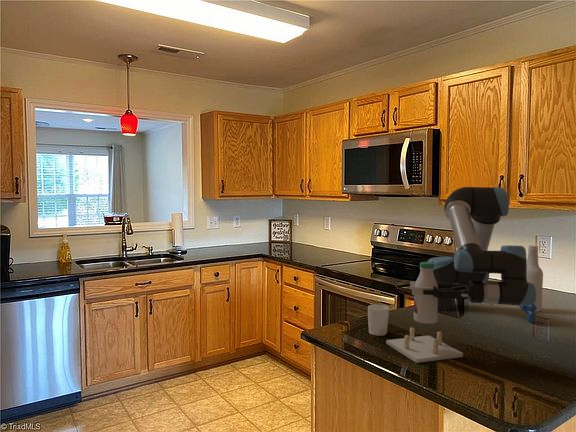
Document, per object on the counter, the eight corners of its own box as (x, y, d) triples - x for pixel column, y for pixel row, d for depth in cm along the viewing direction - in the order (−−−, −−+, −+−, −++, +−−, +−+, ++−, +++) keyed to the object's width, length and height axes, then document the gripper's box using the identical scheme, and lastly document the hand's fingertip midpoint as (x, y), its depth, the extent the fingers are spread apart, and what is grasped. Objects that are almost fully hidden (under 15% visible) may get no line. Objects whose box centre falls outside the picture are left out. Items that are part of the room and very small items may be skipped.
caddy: (386, 343, 153) (386, 328, 153) (428, 338, 159) (429, 324, 159) (416, 362, 136) (417, 345, 136) (462, 356, 142) (463, 340, 142)
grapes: (517, 316, 190) (518, 289, 189) (534, 318, 187) (536, 291, 186) (519, 323, 179) (520, 295, 178) (538, 325, 176) (539, 296, 176)
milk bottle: (441, 320, 147) (442, 262, 146) (431, 325, 142) (433, 265, 141) (419, 316, 152) (421, 260, 151) (409, 320, 147) (411, 262, 146)
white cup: (389, 331, 167) (390, 305, 166) (387, 337, 160) (387, 311, 159) (368, 328, 170) (369, 303, 169) (365, 334, 162) (366, 308, 162)
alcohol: (544, 310, 200) (547, 246, 198) (536, 313, 194) (539, 247, 193) (524, 306, 207) (527, 244, 205) (516, 309, 201) (519, 245, 200)
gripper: (490, 311, 133) (413, 306, 138) (475, 295, 153) (408, 292, 158) (491, 287, 133) (414, 283, 137) (475, 274, 153) (409, 271, 157)
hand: (411, 288), depth 147 cm, fingers closed on milk bottle, 7 cm apart
